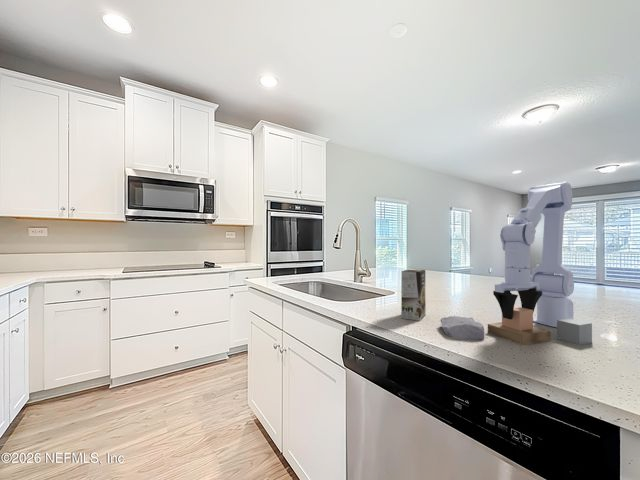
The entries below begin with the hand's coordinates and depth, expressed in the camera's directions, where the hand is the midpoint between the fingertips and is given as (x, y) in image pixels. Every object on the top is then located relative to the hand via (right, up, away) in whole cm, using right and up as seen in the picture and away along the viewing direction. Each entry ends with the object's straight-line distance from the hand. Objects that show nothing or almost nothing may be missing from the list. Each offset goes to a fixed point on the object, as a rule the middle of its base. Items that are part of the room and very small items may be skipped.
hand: (517, 317), depth 76 cm
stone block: (-14, -6, +4) cm, 16 cm away
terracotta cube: (0, -3, 0) cm, 3 cm away
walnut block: (0, -6, 0) cm, 6 cm away
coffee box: (-22, -6, +20) cm, 30 cm away
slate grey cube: (+13, -5, -3) cm, 14 cm away
